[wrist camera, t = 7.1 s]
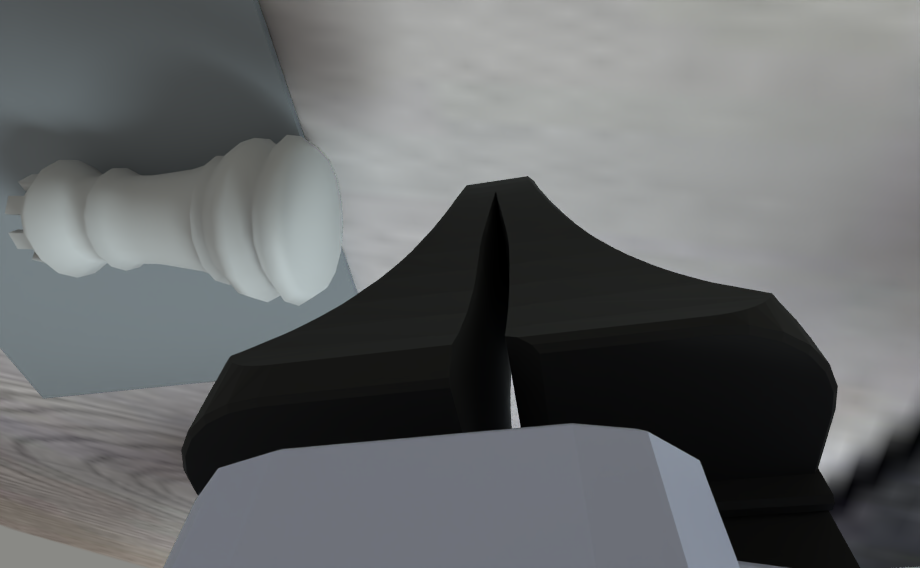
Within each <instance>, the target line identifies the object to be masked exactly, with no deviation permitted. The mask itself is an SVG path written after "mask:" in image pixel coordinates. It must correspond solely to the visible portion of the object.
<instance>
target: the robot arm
mask: <svg viewBox="0 0 920 568" xmlns="http://www.w3.org/2000/svg"><path fill="white" fill-rule="evenodd" d="M511 374H512V380H513V385H514V391H515V397H516V402H517V408H518V414H519V419H520V425H521V428H513V429H512V426H511V409H510V388H511ZM837 387H838V386H837V383H836V381H835V378H834V375H833V372H832V370H831V367H830V364H829V363H828V361H827V360H826V359H825V357H824V356H823V354H822V353H821V352H820V350H819V349H818V348H817V346H816V345H815V343H814V342H813V341H812V339H811V338H810V337H809V335H808V334H807V333H806V332H805V330H804V329H803V328H802V327H801V325H800V324H799V323H798V322H797V320H796V319H795V318H794V317H793V316H792V315H791V314H790V313H789V312H788V311H787V310H786V309H785V308H784V306H783V305H782V304H781V303H780V302H779V301H778V300H777V299H776V297H775V296H774V295H773V294H772V293H766V292H761V291H755V290H750V289H744V288H739V287H733V286H728V285H722V284H717V283H712V282H707V281H703V280H700V279H696V278H692V277H689V276H685V275H682V274H678V273H674V272H671V271H668V270H665V269H662V268H659V267H656V266H654V265H651V264H649V263H646V262H644V261H641V260H639V259H636V258H634V257H632V256H629V255H627V254H625V253H623V252H621V251H619V250H616V249H615V248H613V247H611V246H609V245H607V244H606V243H604V242H602V241H600V240H598V239H597V238H595V237H593V236H592V235H590V234H589V233H587V232H586V231H584V230H583V229H582V228H580V227H579V226H578V225H576V224H575V223H574V222H573V221H572V220H570V219H569V218H568V217H567V216H566V215H565V214H564V213H562V212H561V211H560V210H559V209H558V208H557V207H556V206H555V205H554V204H553V203H552V202H551V201H550V200H549V199H548V198H547V197H546V196H545V195H544V194H543V192H542V191H541V190H540V189H539V188H538V186H537V185H536V184H535V182H534V181H533V180H532V179H531V178H529V177H528V176H527V177H520V178H513V179H507V180H500V181H493V182H487V183H480V184H473V185H467V186H466V187H465V188H464V190H463V191H462V192H461V193H460V195H459V196H458V197H457V199H456V200H455V201H454V203H453V204H452V205H451V207H450V208H449V209H448V211H447V212H446V213H445V215H444V216H443V217H442V218H441V220H440V221H439V222H438V223H437V225H436V226H435V227H434V228H433V229H432V230H431V231H430V232H429V234H428V235H427V236H426V237H425V238H424V239H423V240H422V241H421V242H420V243H419V244H418V245H417V246H416V247H415V249H414V250H413V251H412V252H411V253H410V254H408V255H407V256H406V257H405V258H404V259H403V260H402V261H401V262H400V263H399V264H397V265H396V266H395V267H394V268H392V269H391V270H390V271H389V272H388V273H386V274H385V275H384V276H383V277H381V278H380V279H379V280H377V281H376V282H375V283H373V284H372V285H370V286H369V287H367V288H366V289H364V290H363V291H361V292H360V293H358V294H357V295H355V296H354V297H352V298H351V299H349V300H348V301H346V302H345V303H343V304H341V305H340V306H338V307H336V308H334V309H333V310H331V311H329V312H327V313H326V314H324V315H322V316H320V317H318V318H316V319H314V320H312V321H310V322H308V323H306V324H304V325H302V326H301V327H298V328H296V329H294V330H292V331H290V332H288V333H286V334H283V335H281V336H278V337H276V338H274V339H271V340H269V341H266V342H264V343H262V344H259V345H257V346H254V347H252V348H250V349H247V350H245V351H242V352H240V353H237V354H234V355H231V356H230V357H229V359H228V361H227V362H226V364H225V365H224V367H223V369H222V371H221V373H220V375H219V376H218V378H217V380H216V382H215V384H214V385H213V387H212V389H211V391H210V393H209V394H208V396H207V398H206V400H205V402H204V403H203V405H202V407H201V409H200V411H199V413H198V414H197V416H196V418H195V420H194V422H193V423H192V425H191V427H190V429H189V431H188V433H187V436H186V439H185V441H184V444H183V447H182V450H181V451H182V459H183V468H184V471H185V473H186V475H187V477H188V479H189V480H190V482H191V484H192V486H193V488H194V490H195V491H196V493H197V494H198V497H197V499H196V500H195V502H194V504H193V506H192V508H191V510H190V513H189V515H188V517H187V519H186V521H185V523H184V525H183V527H182V529H181V531H180V533H179V536H178V538H177V540H176V542H175V544H174V546H173V548H172V550H171V552H170V554H169V557H168V559H167V561H166V563H165V565H164V567H163V568H860V567H859V565H858V563H857V561H856V559H855V558H854V556H853V554H852V552H851V550H850V549H849V547H848V545H847V543H846V541H845V540H844V538H843V536H842V534H841V532H840V531H839V529H838V527H837V525H836V523H835V521H834V520H833V518H832V516H831V514H830V512H829V511H830V510H833V507H834V504H835V502H834V497H833V493H832V492H831V490H830V488H829V486H828V485H827V483H826V481H825V479H824V478H823V476H822V474H821V472H820V471H819V469H818V466H819V463H820V460H821V456H822V453H823V449H824V446H825V443H826V439H827V436H828V433H829V429H830V426H831V422H832V419H833V416H834V412H835V409H836V398H837ZM907 568H920V567H907Z"/></svg>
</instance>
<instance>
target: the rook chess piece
mask: <svg viewBox="0 0 920 568" xmlns="http://www.w3.org/2000/svg"><path fill="white" fill-rule="evenodd" d="M19 184H20V185H21V186H22V188H23V189H24V190H25V191H27V192H26V193H25V195H24V196H8V200H7V205H6V210H5V214H9V215H20V216H21V221H22V227H23V230H22V229H17V230H15V231H12V232H9V233H8V234H9V235H10V237H11V239H12V240H13V242H14V244H15V245H16V247H17V249H33V250H34V251H35V252H34V254H33V257H32V260H35V261H39V262H43V263H46V264H47V265H49V266H50V267H51V268H52V269H54V270H55V271H56V272H57V273H60V274H64V275H68V276H72V277H77V278H78V277H82V276H86V275H90V274H94V273H96V272H97V271H98V270H100V269H101V268H102V267H103V266H104V265H106V264H107V263H108V264H109V265H110V266H111V267H114V268H118V269H121V270H125V271H127V270H131V269H135V268H139V267H141V266H142V265H143V264H162V265H168V266H174V267H180V268H186V269H192V270H198V271H203V272H206V273H209V274H210V275H211V276H212V278H213V279H214V280H215V281H218V282H221V283H224V284H228V285H230V284H231V285H232V286H233V287H234V289H235V290H236V291H237V292H238V293H240V294H243V295H246V296H249V297H252V298H255V299H258V300H262V301H265V302H269V301H271V300H273V299H275V298H277V297H279V296H281V297H282V299H283V300H284V301H285V302H288V303H291V304H294V305H297V306H300V305H301V304H303V303H305V302H306V301H308V300H310V299H311V298H313V297H314V296H316V295H317V294H319V293H320V292H322V291H323V290H325V289H326V288H327V287H328V285H329V283H330V282H331V280H332V278H333V276H334V274H335V273H336V269H337V265H338V261H339V257H340V253H341V244H342V233H343V218H342V201H341V196H340V191H339V186H338V181H337V177H336V175H335V172H334V170H333V168H332V165H331V163H330V160H329V159H328V158H327V157H326V156H325V155H324V154H323V152H322V151H321V150H320V149H319V148H317V147H316V146H315V145H313V144H312V143H310V142H309V141H308V140H306V139H305V138H303V137H302V136H295V135H286V136H285V137H284V138H283V139H282V140H281V141H280V142H278V143H277V144H275V143H274V142H273V141H272V140H270V139H261V138H252V139H249V140H246V141H243V142H240V143H239V144H238V145H237V146H235V147H234V148H233V149H232V150H231V151H229V152H228V153H227V154H226V155H225V156H216V157H214V158H213V159H212V160H211V161H209V162H208V163H207V164H206V165H204V166H201V167H198V168H195V169H191V170H185V171H178V172H172V173H165V174H159V175H139V174H137V173H136V172H134V171H132V170H130V169H128V168H112V169H110V170H109V171H107V172H106V173H104V174H102V173H100V172H99V171H98V170H97V169H96V168H94V167H92V166H89V165H87V164H85V163H83V162H81V161H79V160H58V161H56V162H55V163H53V164H51V165H49V166H47V167H45V168H44V169H42V170H41V171H40V173H39V174H31V175H30V176H28V177H26V178H24V179H22V180H20V181H19Z"/></svg>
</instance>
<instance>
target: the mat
mask: <svg viewBox="0 0 920 568" xmlns="http://www.w3.org/2000/svg"><path fill="white" fill-rule="evenodd" d="M286 135H295V136H302V137H303V138H305V137H304V134H303V131H302V129H301V126H300V123H299V120H298V117H297V114H296V111H295V108H294V105H293V102H292V99H291V96H290V93H289V90H288V87H287V84H286V82H285V79H284V76H283V73H282V70H281V67H280V64H279V61H278V58H277V55H276V52H275V49H274V46H273V43H272V40H271V38H270V35H269V32H268V29H267V26H266V23H265V20H264V17H263V14H262V11H261V8H260V5H259V2H258V0H0V348H1V349H2V351H3V352H4V353H5V354H6V355H7V356H8V358H9V359H10V360H11V361H12V362H13V364H14V365H15V366H16V367H17V368H18V369H19V371H20V372H21V373H22V374H23V375H24V376H25V378H26V379H27V380H28V381H29V382H30V383H31V385H32V386H33V387H34V388H35V389H36V390H37V392H38V393H39V394H40V395H41V396H42V398H53V397H63V396H73V395H83V394H93V393H103V392H113V391H123V390H133V389H143V388H152V387H162V386H172V385H182V384H192V383H202V382H212V381H216V380H217V378H218V376H219V375H220V373H221V371H222V369H223V367H224V365H225V364H226V362H227V361H228V359H229V357H230V356H231V355H234V354H237V353H240V352H242V351H245V350H247V349H250V348H252V347H254V346H257V345H259V344H262V343H264V342H266V341H269V340H271V339H274V338H276V337H278V336H281V335H283V334H286V333H288V332H290V331H292V330H294V329H296V328H298V327H301V326H302V325H304V324H306V323H308V322H310V321H312V320H314V319H316V318H318V317H320V316H322V315H324V314H326V313H327V312H329V311H331V310H333V309H334V308H336V307H338V306H340V305H341V304H343V303H345V302H346V301H348V300H349V299H351V298H352V297H354V296H355V295H357V294H358V293H357V290H356V287H355V284H354V281H353V278H352V275H351V272H350V270H349V267H348V264H347V261H346V258H345V255H344V252H343V249H342V246H341V253H340V257H339V261H338V265H337V269H336V273H335V274H334V276H333V278H332V280H331V282H330V283H329V285H328V287H327V288H326V289H325V290H323V291H322V292H320V293H319V294H317V295H316V296H314V297H313V298H311V299H310V300H308V301H306V302H305V303H303V304H301V305H300V306H297V305H294V304H291V303H288V302H285V301H284V300H283V299H282V297H281V296H279V297H277V298H275V299H273V300H271V301H269V302H265V301H262V300H258V299H255V298H252V297H249V296H246V295H243V294H240V293H238V292H237V291H236V290H235V289H234V287H233V286H232V285H231V284H230V285H228V284H224V283H221V282H218V281H215V280H214V279H213V278H212V276H211V275H210V274H209V273H206V272H203V271H198V270H192V269H186V268H180V267H174V266H168V265H162V264H143V265H142V266H141V267H139V268H135V269H131V270H127V271H125V270H121V269H118V268H114V267H111V266H110V265H109V264H108V263H107V264H106V265H104V266H103V267H102V268H101V269H100V270H98V271H97V272H96V273H94V274H90V275H86V276H82V277H78V278H77V277H72V276H68V275H64V274H60V273H57V272H56V271H55V270H54V269H52V268H51V267H50V266H49V265H47V264H46V263H43V262H39V261H35V260H32V257H33V254H34V252H35V251H34V250H33V249H17V247H16V245H15V244H14V242H13V240H12V239H11V237H10V235H9V234H8V233H9V232H12V231H15V230H17V229H22V230H23V227H22V221H21V216H20V215H9V214H5V210H6V205H7V200H8V196H24V195H25V193H26V192H27V191H25V190H24V189H23V188H22V186H21V185H20V184H19V181H20V180H22V179H24V178H26V177H28V176H30V175H31V174H39V173H40V171H41V170H42V169H44V168H45V167H47V166H49V165H51V164H53V163H55V162H56V161H58V160H79V161H81V162H83V163H85V164H87V165H89V166H92V167H94V168H96V169H97V170H98V171H99V172H100V173H102V174H104V173H106V172H107V171H109V170H110V169H112V168H128V169H130V170H132V171H134V172H136V173H137V174H139V175H159V174H165V173H172V172H178V171H185V170H191V169H195V168H198V167H201V166H204V165H206V164H207V163H208V162H209V161H211V160H212V159H213V158H214V157H216V156H225V155H226V154H227V153H228V152H229V151H231V150H232V149H233V148H234V147H235V146H237V145H238V144H239V143H240V142H243V141H246V140H249V139H252V138H261V139H270V140H272V141H273V142H274V143H275V144H277V143H278V142H280V141H281V140H282V139H283V138H284V137H285V136H286Z"/></svg>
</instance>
